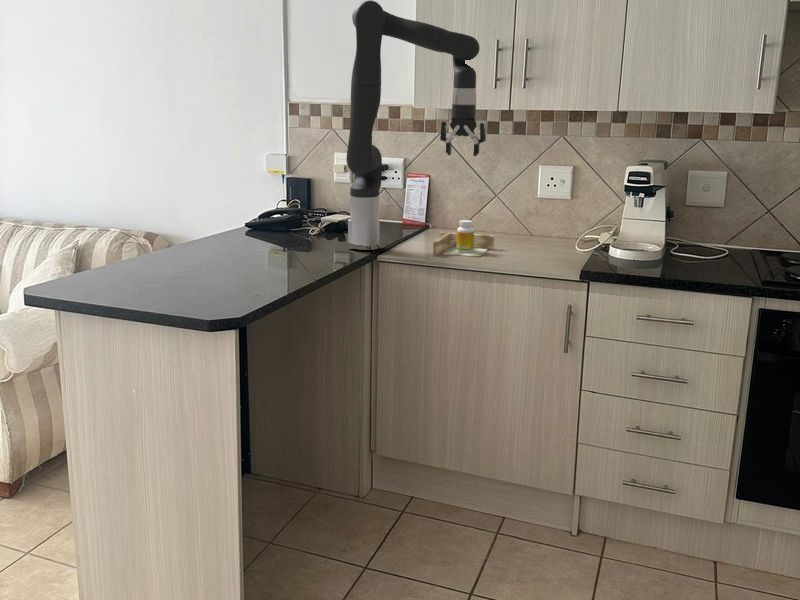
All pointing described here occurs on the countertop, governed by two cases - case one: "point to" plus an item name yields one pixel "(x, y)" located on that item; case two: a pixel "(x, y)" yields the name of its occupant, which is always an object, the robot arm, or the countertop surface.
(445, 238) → the corner arena
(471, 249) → the supplement bottle
